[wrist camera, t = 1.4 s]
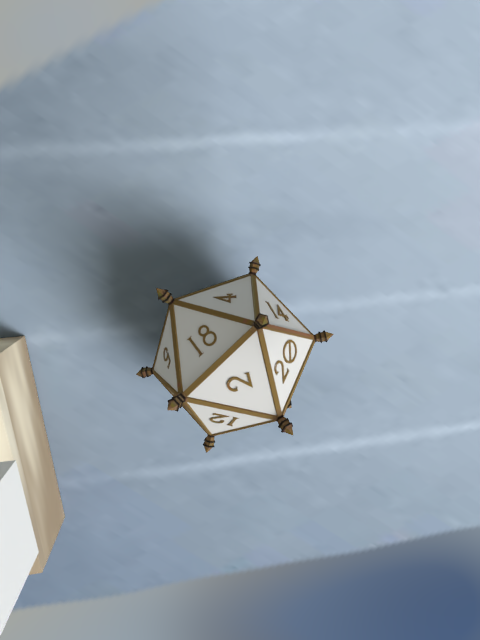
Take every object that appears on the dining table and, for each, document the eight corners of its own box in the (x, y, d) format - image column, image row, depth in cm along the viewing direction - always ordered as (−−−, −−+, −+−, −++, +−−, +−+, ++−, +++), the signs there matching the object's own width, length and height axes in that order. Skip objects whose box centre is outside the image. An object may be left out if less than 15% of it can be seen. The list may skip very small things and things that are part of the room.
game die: (214, 288, 26) (264, 186, 17) (304, 382, 25) (404, 327, 16) (103, 375, 22) (90, 301, 13) (205, 490, 21) (267, 496, 12)
